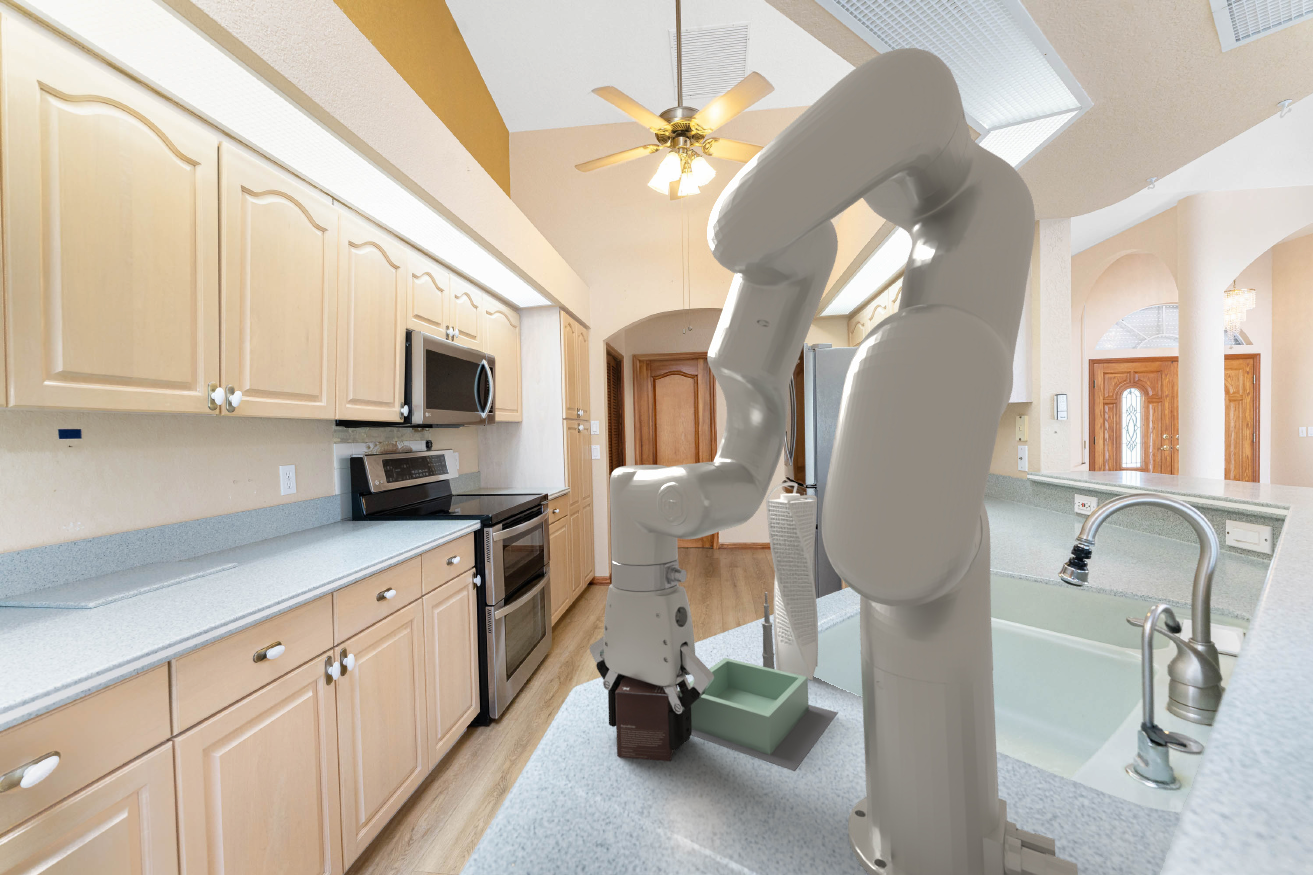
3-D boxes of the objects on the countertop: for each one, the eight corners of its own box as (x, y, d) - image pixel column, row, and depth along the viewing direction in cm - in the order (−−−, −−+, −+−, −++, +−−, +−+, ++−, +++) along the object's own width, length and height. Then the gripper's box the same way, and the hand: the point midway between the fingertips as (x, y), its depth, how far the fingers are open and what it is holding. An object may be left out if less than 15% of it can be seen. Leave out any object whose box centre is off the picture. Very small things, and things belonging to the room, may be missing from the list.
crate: (808, 709, 65) (807, 676, 65) (770, 754, 56) (768, 716, 56) (726, 687, 72) (725, 657, 72) (679, 724, 63) (678, 690, 63)
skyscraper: (771, 660, 82) (765, 481, 83) (825, 667, 79) (818, 481, 80) (762, 683, 75) (754, 485, 75) (821, 691, 72) (813, 485, 72)
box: (671, 765, 55) (668, 695, 56) (615, 760, 57) (613, 691, 57) (680, 734, 61) (678, 671, 61) (630, 730, 63) (628, 668, 63)
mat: (837, 715, 64) (837, 712, 64) (794, 774, 53) (794, 770, 53) (710, 681, 75) (710, 678, 75) (651, 724, 64) (651, 721, 64)
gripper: (729, 577, 57) (733, 740, 57) (608, 560, 67) (611, 698, 67) (692, 593, 51) (697, 776, 51) (566, 572, 61) (569, 724, 61)
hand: (648, 731), depth 59 cm, fingers closed on box, 7 cm apart
